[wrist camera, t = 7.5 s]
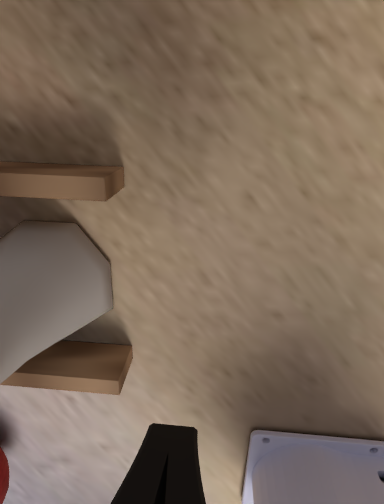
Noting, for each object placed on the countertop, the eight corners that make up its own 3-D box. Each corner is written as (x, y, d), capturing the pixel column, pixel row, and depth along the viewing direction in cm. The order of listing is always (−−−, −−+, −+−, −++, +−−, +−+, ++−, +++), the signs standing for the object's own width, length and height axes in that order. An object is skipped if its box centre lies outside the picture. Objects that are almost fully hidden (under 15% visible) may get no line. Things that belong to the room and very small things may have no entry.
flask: (133, 315, 20) (61, 484, 11) (29, 337, 22) (-113, 506, 12) (86, 201, 18) (-59, 299, 9) (-29, 235, 19) (-262, 351, 10)
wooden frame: (123, 166, 17) (104, 177, 14) (132, 358, 21) (119, 395, 19) (-76, 157, 17) (-132, 166, 15) (-25, 346, 22) (-60, 379, 19)
